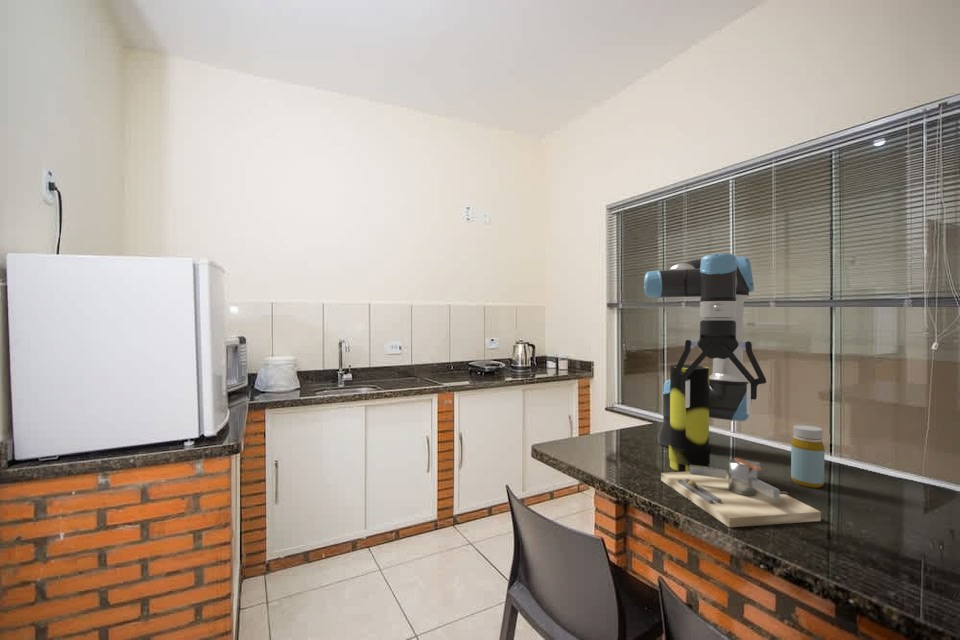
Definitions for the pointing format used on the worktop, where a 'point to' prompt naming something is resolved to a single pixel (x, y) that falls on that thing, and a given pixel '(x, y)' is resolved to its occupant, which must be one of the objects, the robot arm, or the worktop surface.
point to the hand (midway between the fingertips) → (717, 410)
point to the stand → (739, 502)
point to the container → (689, 421)
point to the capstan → (739, 477)
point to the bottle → (807, 456)
